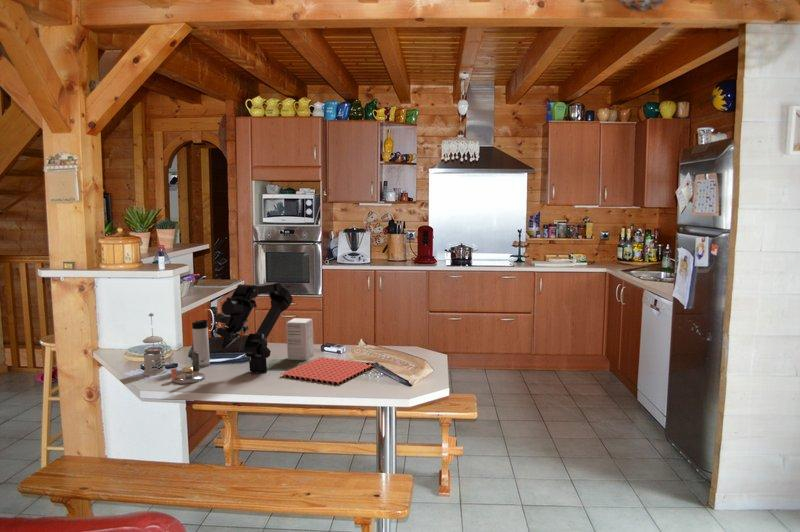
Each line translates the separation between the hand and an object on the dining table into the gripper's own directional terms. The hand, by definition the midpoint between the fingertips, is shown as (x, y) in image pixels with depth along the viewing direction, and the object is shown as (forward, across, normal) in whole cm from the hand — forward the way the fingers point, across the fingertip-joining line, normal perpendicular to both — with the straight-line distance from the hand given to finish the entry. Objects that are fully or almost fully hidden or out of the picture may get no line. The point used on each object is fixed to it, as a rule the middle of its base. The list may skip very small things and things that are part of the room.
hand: (223, 348), depth 243 cm
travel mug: (+18, -15, -9) cm, 25 cm away
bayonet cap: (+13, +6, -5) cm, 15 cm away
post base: (+17, +5, -5) cm, 18 cm away
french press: (+26, -5, -22) cm, 35 cm away
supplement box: (-2, -32, +24) cm, 40 cm away
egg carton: (-10, -10, +41) cm, 44 cm away
